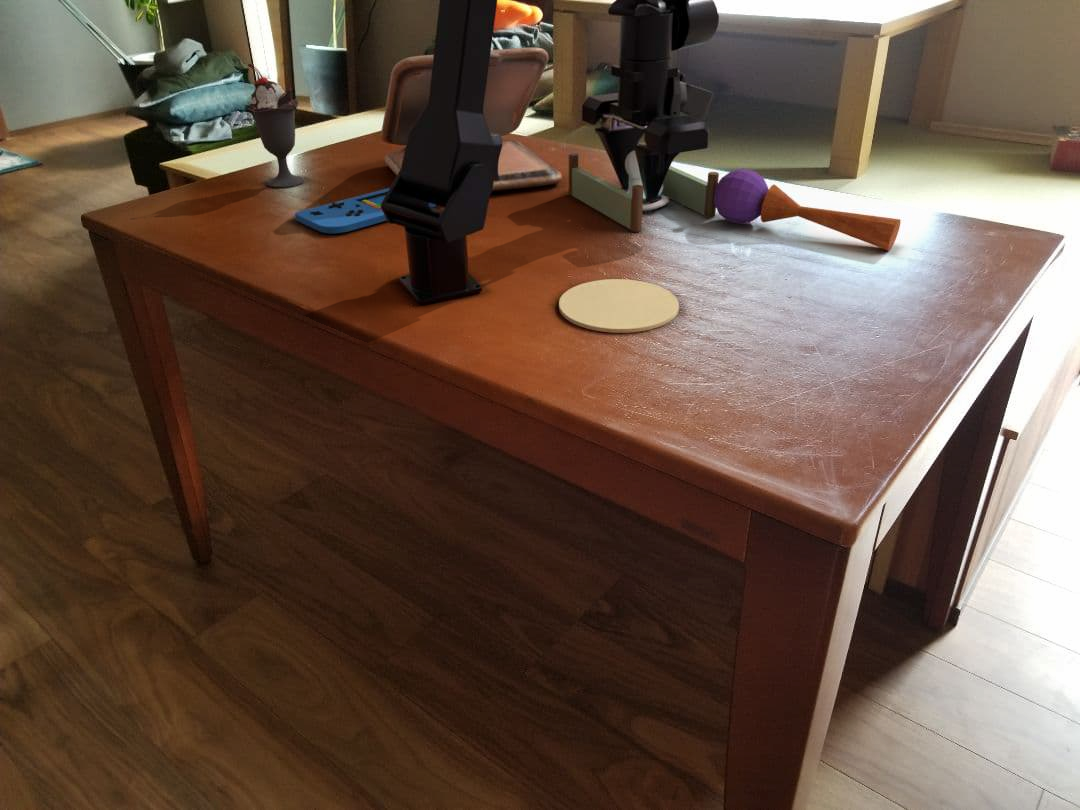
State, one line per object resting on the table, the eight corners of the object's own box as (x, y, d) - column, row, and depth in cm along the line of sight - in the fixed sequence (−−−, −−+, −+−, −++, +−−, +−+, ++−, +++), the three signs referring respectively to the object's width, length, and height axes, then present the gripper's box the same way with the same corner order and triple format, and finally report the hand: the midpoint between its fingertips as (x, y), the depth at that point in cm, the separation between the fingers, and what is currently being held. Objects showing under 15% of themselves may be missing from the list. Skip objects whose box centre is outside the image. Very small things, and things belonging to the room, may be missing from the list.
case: (517, 147, 128) (514, 30, 120) (570, 185, 111) (570, 52, 103) (380, 161, 122) (367, 39, 114) (413, 204, 105) (401, 64, 97)
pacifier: (679, 204, 104) (643, 192, 108) (684, 152, 101) (646, 142, 105) (637, 218, 100) (601, 205, 104) (641, 165, 97) (603, 153, 101)
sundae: (255, 179, 117) (232, 61, 109) (305, 172, 119) (286, 56, 112) (264, 192, 112) (240, 70, 104) (316, 185, 114) (296, 64, 106)
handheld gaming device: (292, 210, 102) (399, 182, 110) (294, 219, 102) (400, 191, 111) (328, 227, 96) (437, 197, 105) (330, 237, 97) (438, 206, 105)
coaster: (702, 316, 78) (702, 312, 78) (595, 343, 74) (595, 339, 73) (638, 274, 86) (638, 271, 86) (538, 296, 82) (538, 292, 82)
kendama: (891, 223, 86) (707, 177, 95) (879, 273, 90) (703, 225, 99) (909, 196, 89) (730, 155, 98) (897, 246, 93) (725, 202, 102)
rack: (717, 216, 101) (721, 173, 98) (634, 232, 96) (636, 188, 94) (643, 180, 113) (644, 141, 110) (567, 193, 109) (566, 153, 106)
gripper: (756, 62, 92) (741, 206, 100) (660, 39, 106) (653, 166, 114) (668, 73, 88) (659, 222, 96) (580, 47, 102) (579, 178, 110)
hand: (639, 195), depth 104 cm, fingers closed on pacifier, 5 cm apart
